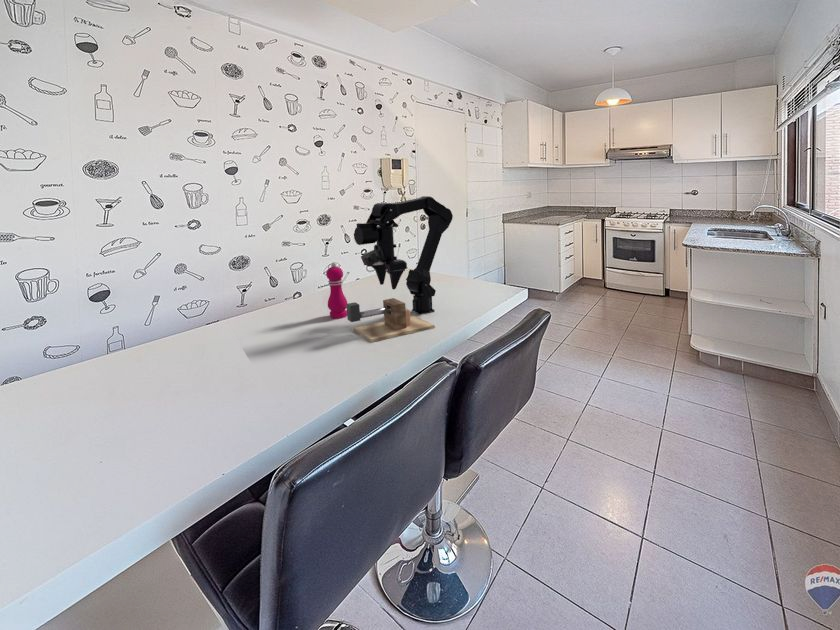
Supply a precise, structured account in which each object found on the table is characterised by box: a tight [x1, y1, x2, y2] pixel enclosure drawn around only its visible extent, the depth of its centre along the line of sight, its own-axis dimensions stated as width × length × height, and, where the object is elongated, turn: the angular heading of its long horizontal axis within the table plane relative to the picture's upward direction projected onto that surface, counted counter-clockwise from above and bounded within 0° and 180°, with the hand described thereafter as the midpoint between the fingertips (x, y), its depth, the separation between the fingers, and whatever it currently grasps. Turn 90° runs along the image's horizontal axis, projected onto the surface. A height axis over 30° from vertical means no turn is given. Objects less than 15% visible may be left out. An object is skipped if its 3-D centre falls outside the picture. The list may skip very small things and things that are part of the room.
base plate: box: [353, 314, 436, 343], centre depth 148 cm, size 23×14×1 cm, turn 120°
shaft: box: [346, 302, 391, 323], centre depth 142 cm, size 16×3×5 cm, turn 120°
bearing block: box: [382, 297, 407, 330], centre depth 147 cm, size 4×8×8 cm, turn 30°
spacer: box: [406, 308, 411, 327], centre depth 149 cm, size 2×5×5 cm, turn 30°
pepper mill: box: [325, 262, 348, 319], centre depth 162 cm, size 7×7×20 cm
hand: (387, 286), depth 155 cm, fingers open, 9 cm apart
